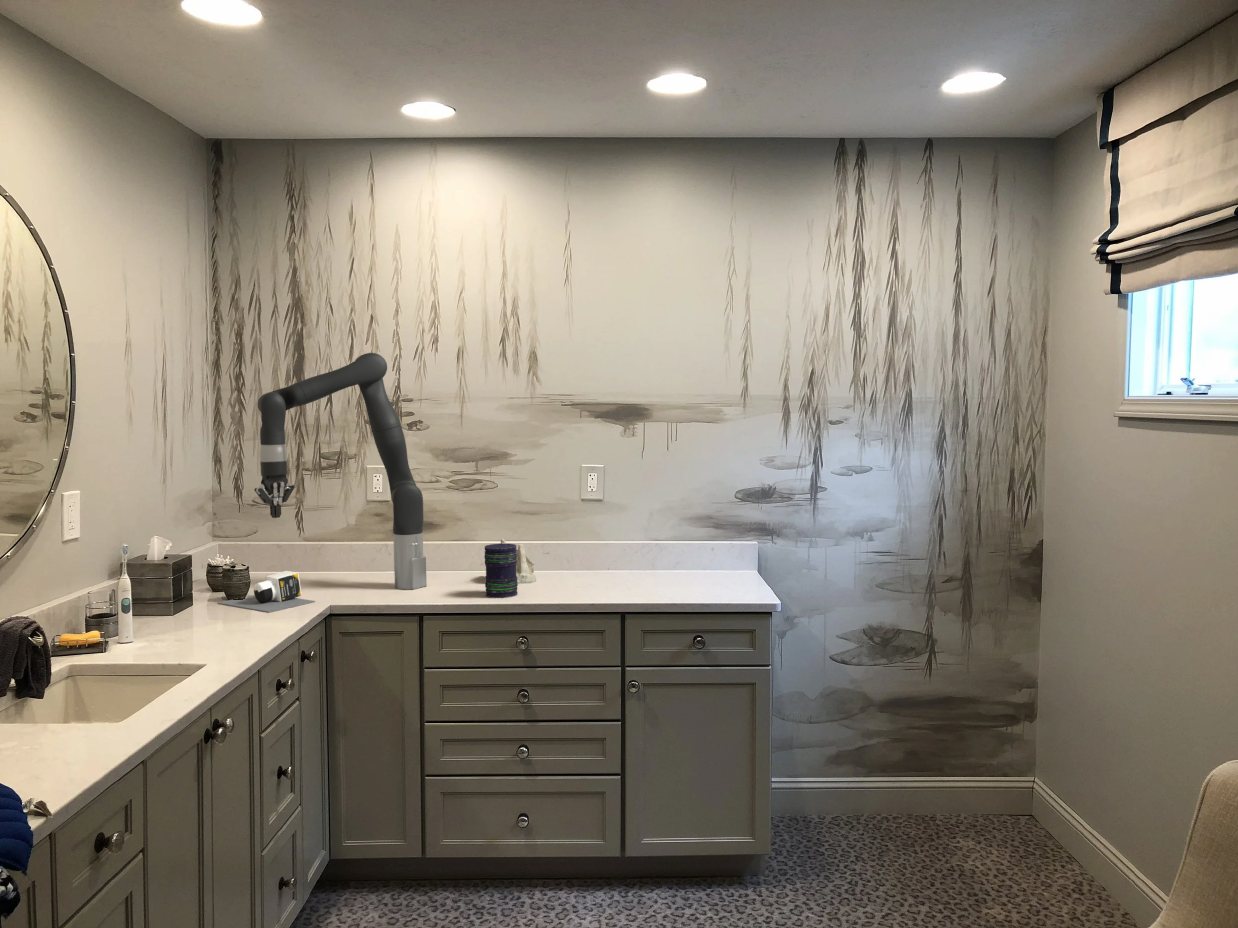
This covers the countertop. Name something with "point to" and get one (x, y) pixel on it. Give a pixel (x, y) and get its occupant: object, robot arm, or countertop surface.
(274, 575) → the medicine bottle
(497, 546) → the storage jar
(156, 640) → the countertop surface
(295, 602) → the rubber mat
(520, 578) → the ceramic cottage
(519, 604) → the countertop surface
